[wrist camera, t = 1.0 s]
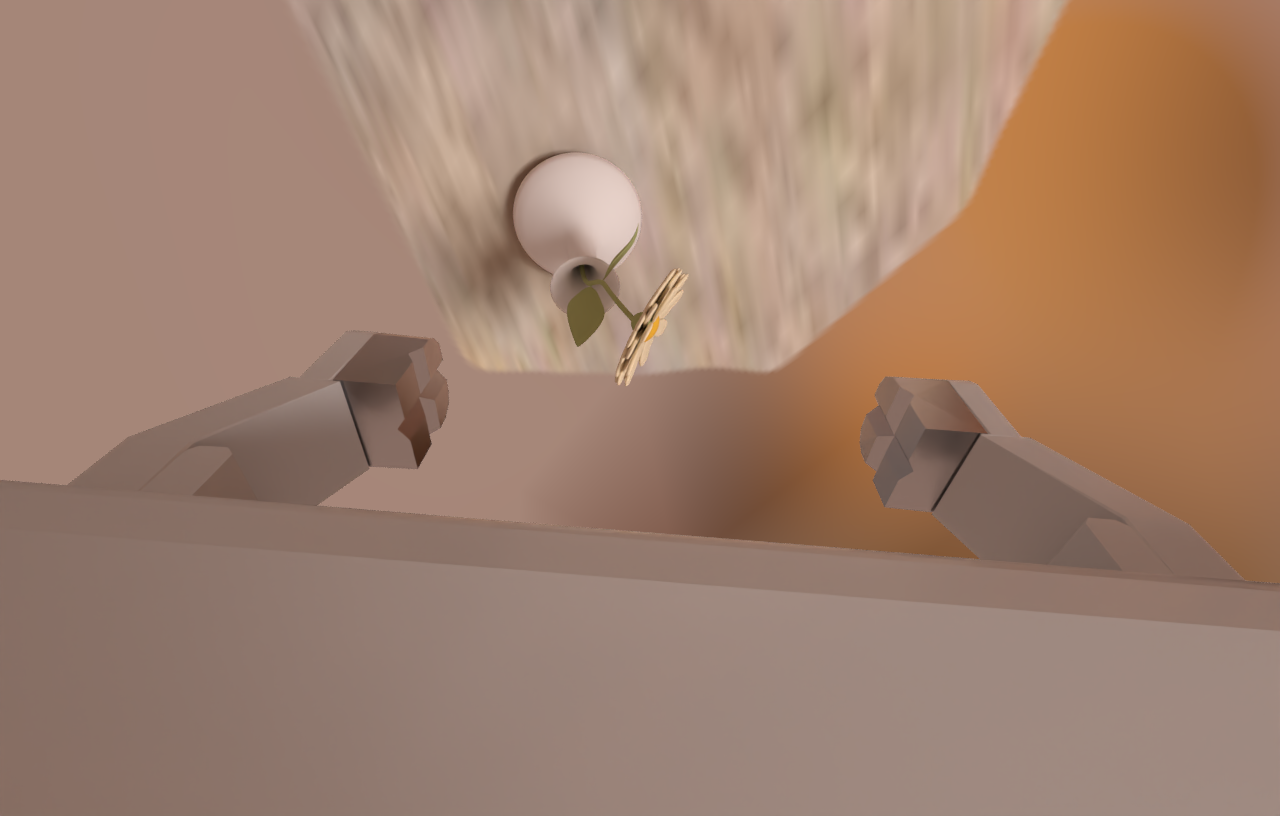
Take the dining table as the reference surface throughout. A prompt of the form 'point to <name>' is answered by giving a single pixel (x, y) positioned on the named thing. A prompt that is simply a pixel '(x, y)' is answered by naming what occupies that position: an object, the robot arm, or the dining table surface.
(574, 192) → the flower in vase
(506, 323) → the dining table surface
